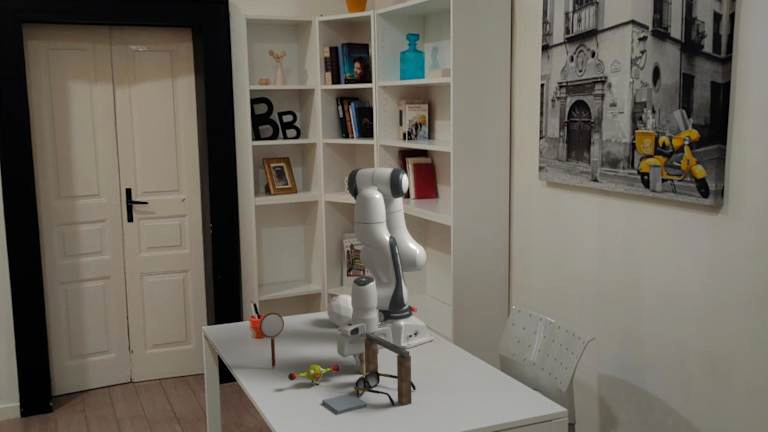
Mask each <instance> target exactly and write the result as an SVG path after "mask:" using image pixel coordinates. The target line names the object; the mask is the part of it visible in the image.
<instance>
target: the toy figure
mask: <svg viewBox="0 0 768 432" xmlns="http://www.w3.org/2000/svg"><path fill="white" fill-rule="evenodd" d="M331 370H332V371H333V372H335V373H337V372H339V371H340V365H339V364H333V365H332V367H331V368H324V369H323V368H322V367H321V366H320V365H318V364H311V365H309V366H308V367H307V369H306V371H305V372H304V373H299V374H296V373H295V372H290V373H289V374H288V375H287V378H288V380H289V381H294V380H296V379H297V377H300V378H302V377H307V378H308V379H309V380H310V381H311V384H310V385H311V387H312V386H315V384H316V385H317V386H318V385H320V383H319V380H320V379H321V378H322V376H323V374H324V373H326V372H327V373H329V371H331ZM314 382H315V384H314Z"/></svg>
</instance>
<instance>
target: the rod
mask: <svg viewBox="0 0 768 432" xmlns="http://www.w3.org/2000/svg"><path fill="white" fill-rule="evenodd" d="M366 339H368V340H370V341H372V342H374V343H376V344H378V345H380V346H382V347H384V349H386V350H389V351H390V352H393V353H394V354H397V355H400V356H402V357H404V358H406V357H409V356H410V351H408V350H407V349H404V348H400V347H398V346H396V345H394V344H392V343H390V342H388V341H386V340H384V339H382V338H380V337H378V336H376V335H374V334H372V333H367V334H366Z"/></svg>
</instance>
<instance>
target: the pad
mask: <svg viewBox="0 0 768 432" xmlns="http://www.w3.org/2000/svg"><path fill="white" fill-rule="evenodd" d="M322 404H323V405H324V406H326V407H327V408H328V409H330V410H331V411H332V412H334V413H336V414H337V415H341V414H344V413H348V412H352V411H355V410H359V409H363V408H366V407H368V403H367V402H366V401H364V400H362V399H361V398H359V397H358V396H356V395H355V394H353V393H351V392H350V393H345V394H342V395H337V396H334V397H330V398H329V397H328V398H325V399H322Z"/></svg>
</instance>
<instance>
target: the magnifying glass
mask: <svg viewBox="0 0 768 432" xmlns="http://www.w3.org/2000/svg"><path fill="white" fill-rule="evenodd" d="M284 326H285V322H284V318H283V317H282V315H280V314H279V313H276V312H271V313H270V312H269V313H266V315H264V316H263V317H262V318H261V320H260V323H259V330H260V332H261V334H262V335H264V337H267V338H270V348H271V349H270V350H271V351H270V353H271V367H272V369H275V368H276V349H275V348H276V347H275V346H276V345H275V338H276V337H278V336H279V335H280V334H281V333H282V332H283V330H284Z"/></svg>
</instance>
